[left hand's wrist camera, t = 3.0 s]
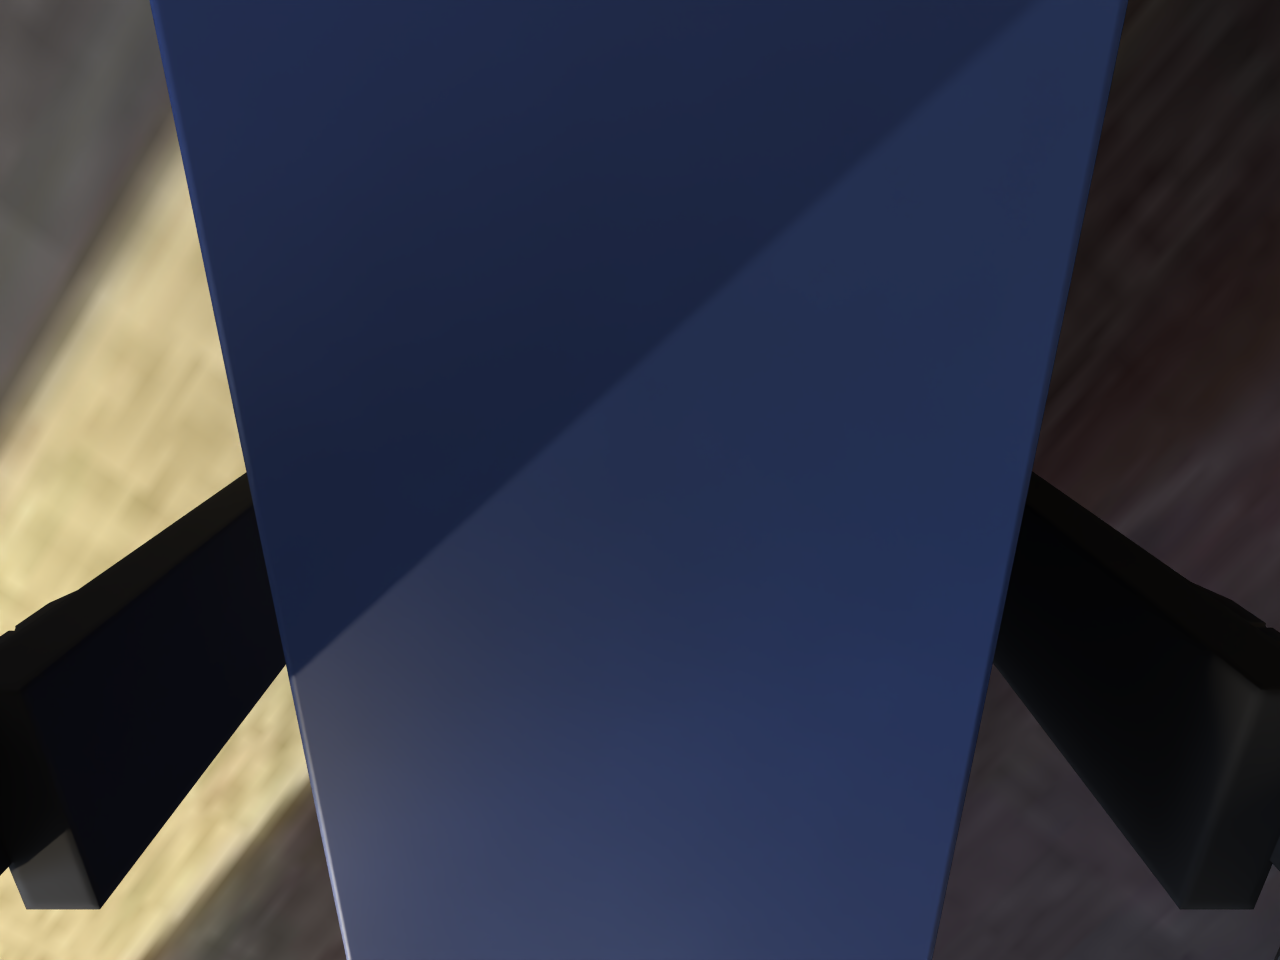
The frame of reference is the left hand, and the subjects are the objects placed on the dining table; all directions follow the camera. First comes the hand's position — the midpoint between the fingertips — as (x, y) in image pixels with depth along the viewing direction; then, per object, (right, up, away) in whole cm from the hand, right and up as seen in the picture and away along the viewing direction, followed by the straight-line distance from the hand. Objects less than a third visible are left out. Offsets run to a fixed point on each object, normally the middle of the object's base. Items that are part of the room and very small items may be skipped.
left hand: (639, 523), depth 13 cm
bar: (0, +9, -2) cm, 9 cm away
